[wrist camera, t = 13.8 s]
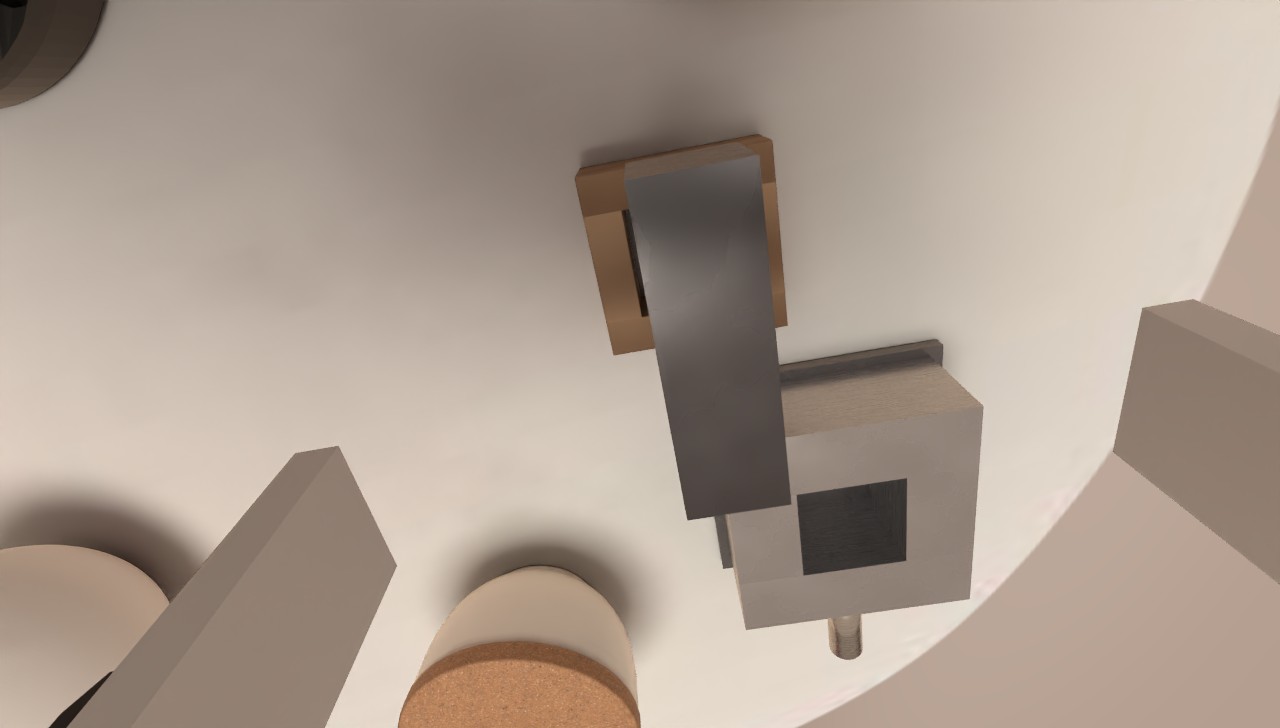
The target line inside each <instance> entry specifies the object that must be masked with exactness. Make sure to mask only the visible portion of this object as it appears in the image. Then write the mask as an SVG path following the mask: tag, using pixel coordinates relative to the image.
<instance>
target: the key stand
mask: <svg viewBox="0 0 1280 728" xmlns="http://www.w3.org/2000/svg"><path fill="white" fill-rule="evenodd" d="M732 142H739V143H741V144H742V145H744V146H746V147H747V148H749V149H750V150H752V151H754V152H755V153H757V154H758V155H759V157H760V168H761V179H762V190H763V201H764V211H765V222H766V233H767V244H768V255H769V266H770V276H771V287H772V298H773V309H774V320H775V328H777V327H783V326H788V324H787V312H786V300H785V288H784V276H783V264H782V252H781V240H780V228H779V216H778V204H777V191H776V179H775V167H774V155H773V143H772V140H770V139H768V138H766V137H763V136H761V135H759V134H757V135H752V136H747V137H742V138H737V139H731V140H726V141H721V142H716V143H711V144H705V145H700V146H695V147H690V148H685V149H680V150H674V151H669V152H664V153H659V154H654V155H648V156H643V157H638V158H633V159H628V160H622V161H617V162H612V163H607V164H602V165H596V166H591V167H586V168H581V169H580V170H579V171H578V173H577V175H576V177H575V182H576V187H577V191H578V196H579V200H580V205H581V210H582V214H583V219H584V223H585V228H586V232H587V237H588V241H589V246H590V250H591V255H592V259H593V264H594V268H595V273H596V277H597V282H598V286H599V291H600V296H601V300H602V305H603V309H604V314H605V318H606V323H607V327H608V332H609V336H610V341H611V345H612V350H613V354H614V355H619V354H625V353H630V352H636V351H642V350H648V349H654V348H655V344H654V339H653V333H652V328H651V323H650V317H649V312H648V307H647V301H646V296H641V294H640V289H639V284H638V279H637V273H636V268H635V263H634V258H633V252H632V247H631V242H630V237H629V231H628V226H627V221H626V216H625V210H627V209H629V205H628V200H627V194H626V189H625V184H624V173H625V163H628V162H633V161H639V160H644V159H649V158H654V157H659V156H665V155H670V154H675V153H680V152H685V151H691V150H696V149H701V148H706V147H711V146H717V145H722V144H727V143H732Z"/></svg>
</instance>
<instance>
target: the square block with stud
mask: <svg viewBox="0 0 1280 728" xmlns="http://www.w3.org/2000/svg"><path fill="white" fill-rule="evenodd" d="M942 360H943V344H941V343H940V342H939V341H938V340H931V341H925V342H919V343H913V344H907V345H901V346H895V347H889V348H883V349H877V350H871V351H865V352H859V353H853V354H847V355H841V356H835V357H829V358H823V359H817V360H811V361H805V362H799V363H793V364H787V365H781V366H779V374H780V385H781V396H782V406H783V417H784V428H785V439H786V450H787V461H788V471H789V482H790V493H791V504H792V505H786V506H779V507H772V508H766V509H759V510H753V511H746V512H739V513H733V514H726V515H720V516H715V522H716V528H717V534H718V541H719V547H720V553H721V559H722V565H723V569H725V568H732V567H733V569H734V574H735V579H736V584H737V589H738V594H739V599H740V603H741V608H742V613H743V618H744V623H745V628H746V630H749V629H756V628H764V627H771V626H778V625H785V624H793V623H800V622H807V621H814V620H821V619H828V631H829V645H830V649H831V651H832V652H833V653H834V654H835V655H836V656H837V657H839V658H842V659H846V660H851V659H855V658H857V657H858V656H859V655H860V654H861V652H862V621H861V614H865V613H872V612H879V611H887V610H894V609H901V608H908V607H915V606H923V605H930V604H937V603H944V602H952V601H959V600H966V599H970V587H971V573H972V559H973V545H974V531H975V517H976V503H977V489H978V475H979V461H980V447H981V433H982V419H983V405H982V404H981V403H979V402H978V401H977V400H976V399H975V398H974V397H973V396H972V395H971V394H970V393H969V392H968V391H967V390H966V389H965V388H964V387H962V386H961V385H960V384H959V383H958V382H957V381H956V380H955V379H954V378H953V377H952V376H951V375H950V374H949V373H948V372H947V371H945V370H944V369H943V368H942Z"/></svg>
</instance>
